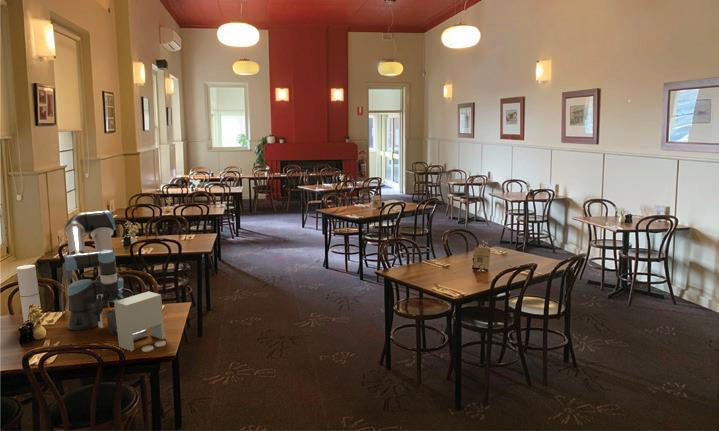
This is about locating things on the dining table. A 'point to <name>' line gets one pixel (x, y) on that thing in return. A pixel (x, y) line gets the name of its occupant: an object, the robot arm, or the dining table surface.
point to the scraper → (113, 326)
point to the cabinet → (139, 317)
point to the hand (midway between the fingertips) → (113, 323)
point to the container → (28, 288)
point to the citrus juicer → (68, 277)
